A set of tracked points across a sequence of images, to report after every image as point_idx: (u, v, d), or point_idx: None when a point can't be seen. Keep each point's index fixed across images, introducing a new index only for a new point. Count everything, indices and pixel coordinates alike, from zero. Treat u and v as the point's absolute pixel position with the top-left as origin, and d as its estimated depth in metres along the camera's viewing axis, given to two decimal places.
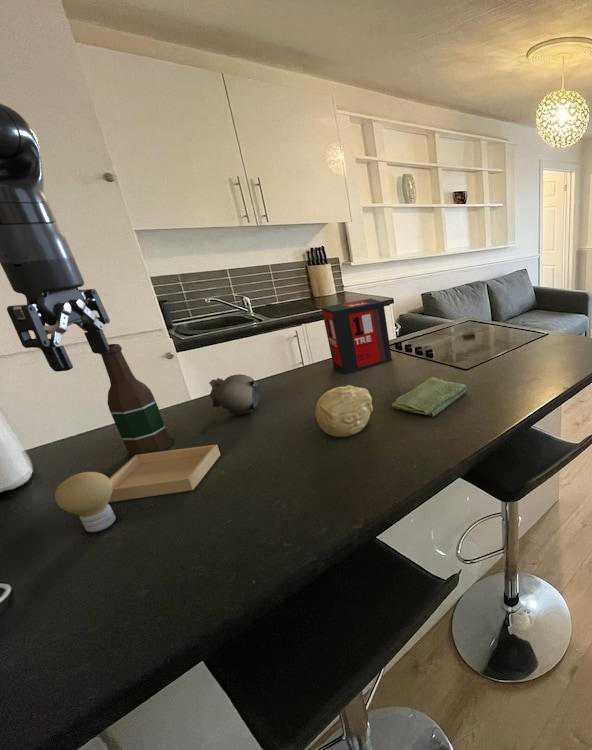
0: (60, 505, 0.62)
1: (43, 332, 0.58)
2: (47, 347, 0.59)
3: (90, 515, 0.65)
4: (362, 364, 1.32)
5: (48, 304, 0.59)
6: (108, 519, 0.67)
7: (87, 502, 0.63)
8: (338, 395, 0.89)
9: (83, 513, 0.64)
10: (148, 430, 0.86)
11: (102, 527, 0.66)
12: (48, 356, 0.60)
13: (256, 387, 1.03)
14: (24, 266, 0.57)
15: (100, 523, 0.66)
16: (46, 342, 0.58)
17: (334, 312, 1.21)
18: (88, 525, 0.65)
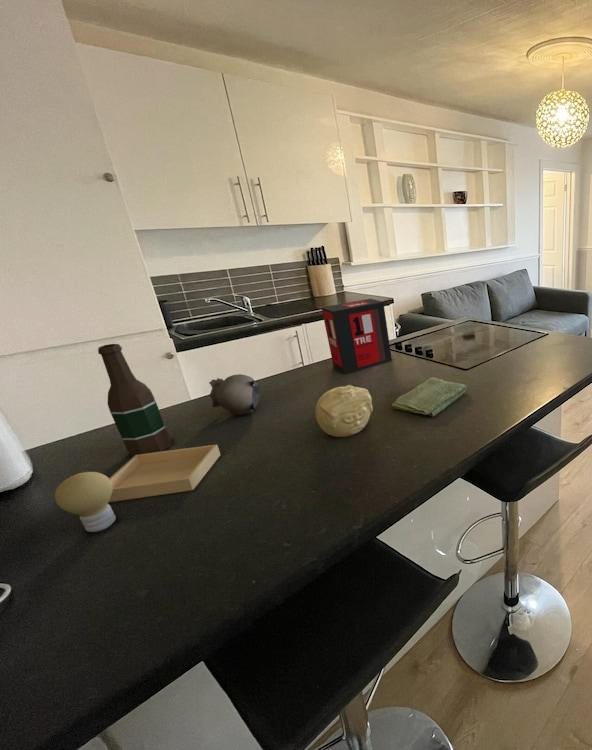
0: (60, 505, 0.62)
1: None
2: None
3: (90, 515, 0.65)
4: (362, 364, 1.32)
5: None
6: (108, 519, 0.67)
7: (87, 502, 0.63)
8: (338, 395, 0.89)
9: (83, 513, 0.64)
10: (148, 430, 0.86)
11: (102, 527, 0.66)
12: None
13: (256, 387, 1.03)
14: None
15: (100, 523, 0.66)
16: None
17: (334, 312, 1.21)
18: (88, 525, 0.65)
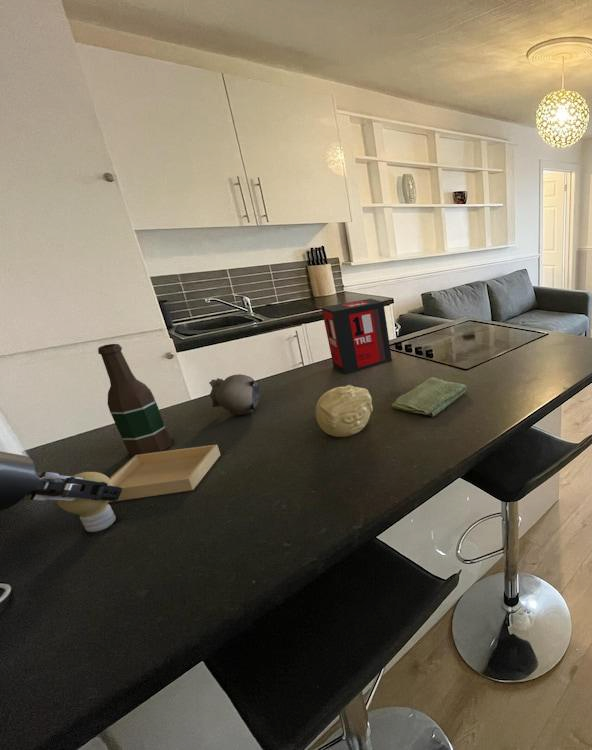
0: (60, 505, 0.62)
1: None
2: None
3: (90, 515, 0.65)
4: (362, 364, 1.32)
5: None
6: (108, 519, 0.67)
7: (88, 502, 0.63)
8: (338, 395, 0.89)
9: (83, 513, 0.64)
10: (148, 430, 0.86)
11: (102, 527, 0.66)
12: None
13: (256, 387, 1.03)
14: None
15: (100, 523, 0.66)
16: None
17: (334, 312, 1.21)
18: (88, 525, 0.65)
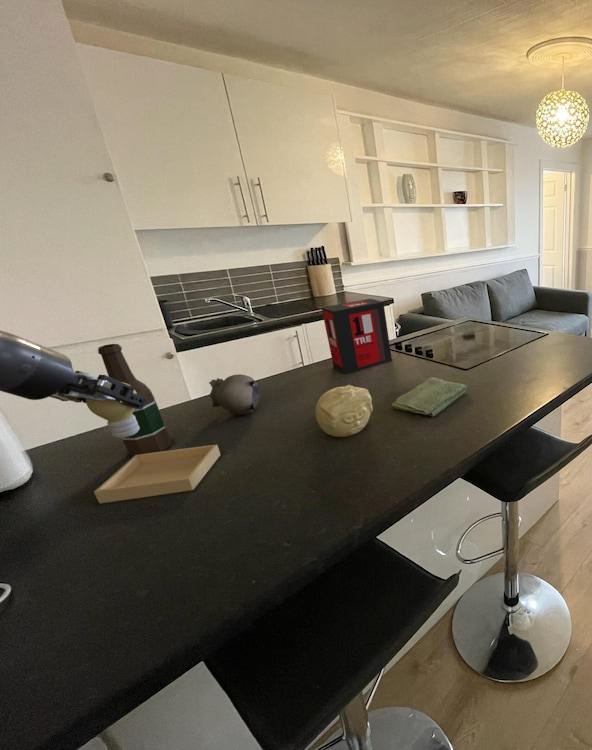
0: (91, 407, 0.67)
1: (54, 397, 0.66)
2: None
3: (117, 420, 0.70)
4: (362, 364, 1.32)
5: None
6: (133, 427, 0.72)
7: (116, 406, 0.68)
8: (338, 395, 0.89)
9: (111, 417, 0.69)
10: (148, 430, 0.86)
11: (128, 434, 0.71)
12: None
13: (256, 387, 1.03)
14: None
15: (126, 429, 0.71)
16: (62, 400, 0.68)
17: (334, 312, 1.21)
18: (115, 430, 0.70)
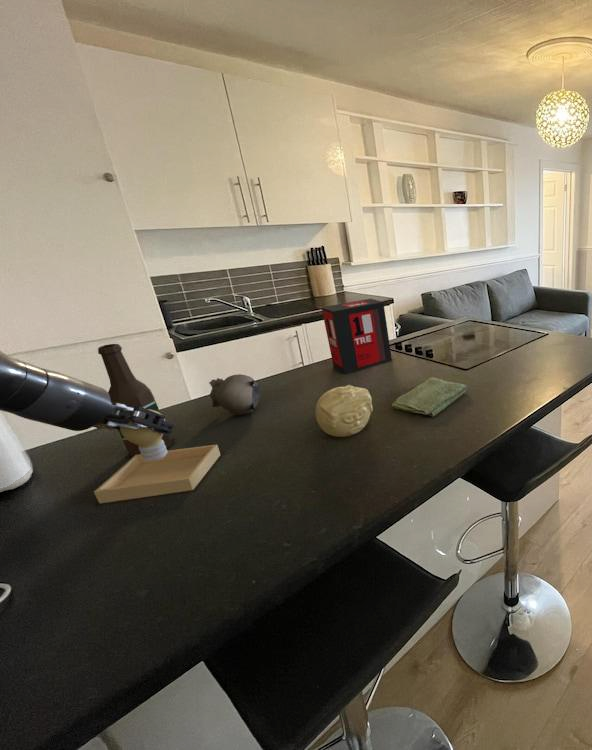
0: (125, 435, 0.73)
1: None
2: None
3: (148, 445, 0.76)
4: (362, 364, 1.32)
5: None
6: (162, 451, 0.77)
7: (147, 433, 0.74)
8: (338, 395, 0.89)
9: (143, 443, 0.75)
10: None
11: (157, 457, 0.77)
12: None
13: (256, 387, 1.03)
14: None
15: (156, 454, 0.77)
16: (98, 428, 0.73)
17: (334, 312, 1.21)
18: (146, 455, 0.76)
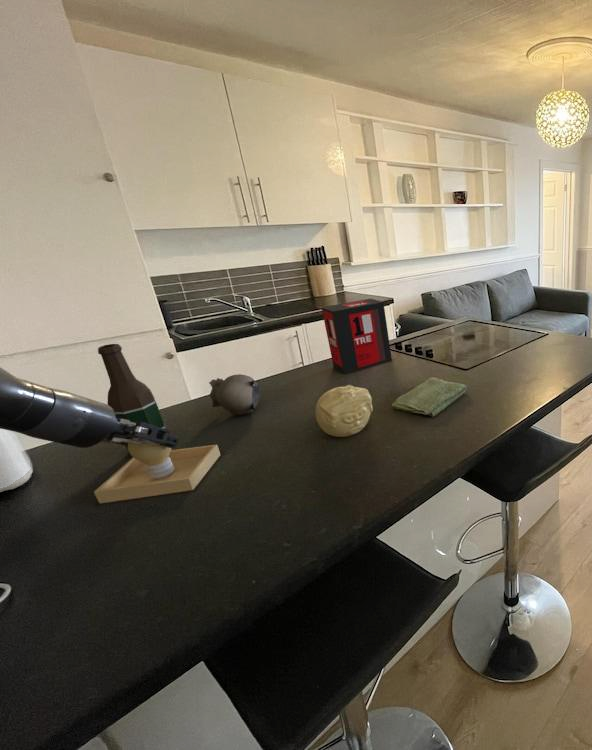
0: (132, 454, 0.74)
1: None
2: None
3: (156, 464, 0.77)
4: (362, 364, 1.32)
5: None
6: (169, 468, 0.79)
7: (155, 452, 0.75)
8: (338, 395, 0.89)
9: (150, 462, 0.76)
10: None
11: (164, 475, 0.78)
12: None
13: (256, 387, 1.03)
14: None
15: (163, 471, 0.78)
16: None
17: (334, 312, 1.21)
18: (153, 472, 0.77)
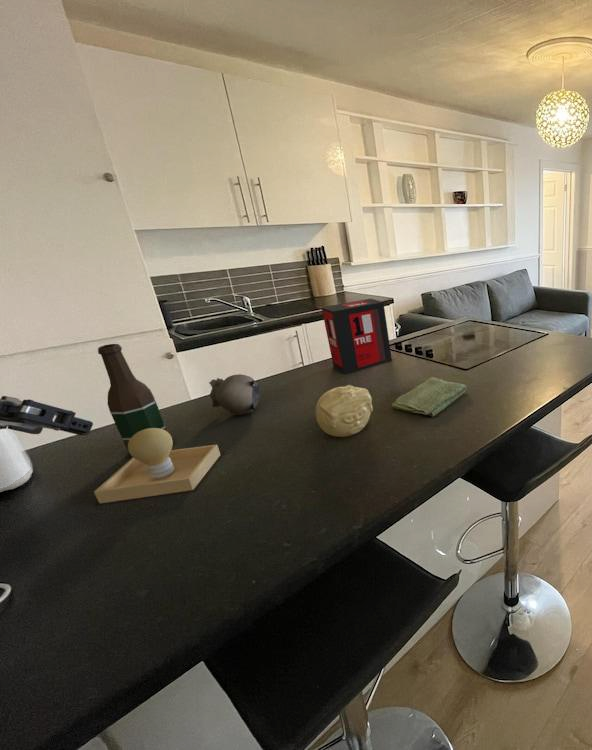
0: (132, 454, 0.74)
1: None
2: None
3: (156, 464, 0.77)
4: (362, 364, 1.32)
5: None
6: (169, 468, 0.79)
7: (155, 452, 0.75)
8: (338, 395, 0.89)
9: (150, 462, 0.76)
10: None
11: (164, 475, 0.78)
12: None
13: (256, 387, 1.03)
14: None
15: (163, 471, 0.78)
16: None
17: (334, 312, 1.21)
18: (153, 472, 0.77)
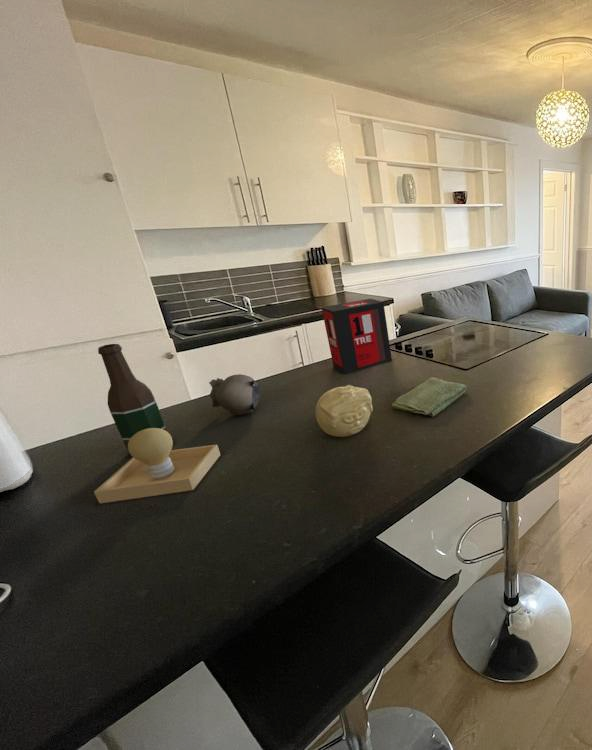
0: (132, 454, 0.74)
1: None
2: None
3: (156, 464, 0.77)
4: (362, 364, 1.32)
5: None
6: (169, 468, 0.79)
7: (155, 452, 0.75)
8: (338, 395, 0.89)
9: (150, 462, 0.76)
10: None
11: (164, 475, 0.78)
12: None
13: (256, 387, 1.03)
14: None
15: (163, 471, 0.78)
16: None
17: (334, 312, 1.21)
18: (153, 472, 0.77)
